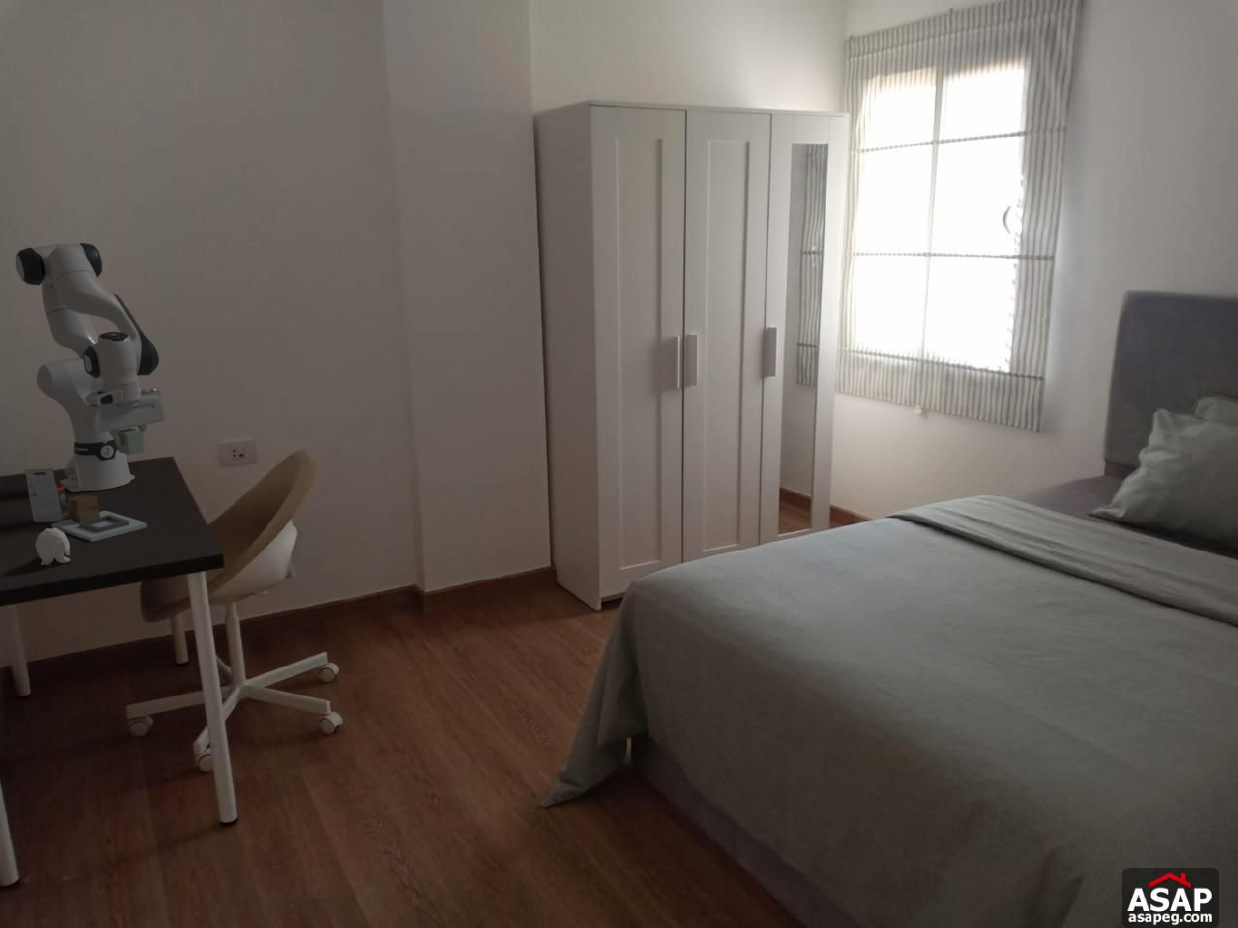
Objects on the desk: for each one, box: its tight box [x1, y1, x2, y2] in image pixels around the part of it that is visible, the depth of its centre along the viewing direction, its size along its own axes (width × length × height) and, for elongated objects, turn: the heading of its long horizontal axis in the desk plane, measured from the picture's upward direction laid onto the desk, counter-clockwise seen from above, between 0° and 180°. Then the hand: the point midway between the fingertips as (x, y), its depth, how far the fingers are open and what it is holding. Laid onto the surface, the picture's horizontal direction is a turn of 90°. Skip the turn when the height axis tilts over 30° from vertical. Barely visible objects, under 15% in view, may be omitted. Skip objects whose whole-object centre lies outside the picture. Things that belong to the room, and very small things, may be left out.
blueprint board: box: [51, 493, 148, 543], centre depth 250 cm, size 22×14×7 cm, turn 53°
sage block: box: [117, 427, 145, 456], centre depth 263 cm, size 6×4×6 cm, turn 53°
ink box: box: [25, 468, 71, 523], centre depth 257 cm, size 4×8×15 cm, turn 90°
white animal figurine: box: [34, 527, 71, 566], centre depth 226 cm, size 6×8×12 cm
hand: (130, 443), depth 263 cm, fingers closed on sage block, 4 cm apart
